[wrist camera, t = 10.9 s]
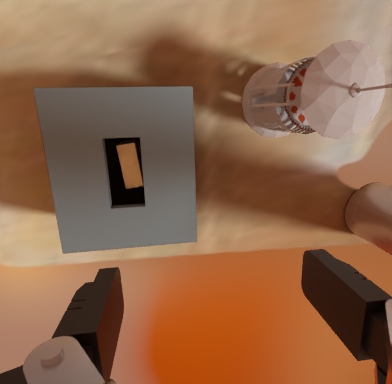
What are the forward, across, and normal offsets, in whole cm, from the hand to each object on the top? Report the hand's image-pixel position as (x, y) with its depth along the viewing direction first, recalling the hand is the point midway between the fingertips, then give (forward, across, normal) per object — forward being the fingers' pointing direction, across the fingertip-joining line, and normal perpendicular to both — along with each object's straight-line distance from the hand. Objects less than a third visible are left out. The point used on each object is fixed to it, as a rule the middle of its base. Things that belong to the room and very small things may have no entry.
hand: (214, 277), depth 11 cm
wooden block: (+26, +6, -2) cm, 27 cm away
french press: (+27, -13, -9) cm, 31 cm away
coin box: (+26, +6, -2) cm, 27 cm away
